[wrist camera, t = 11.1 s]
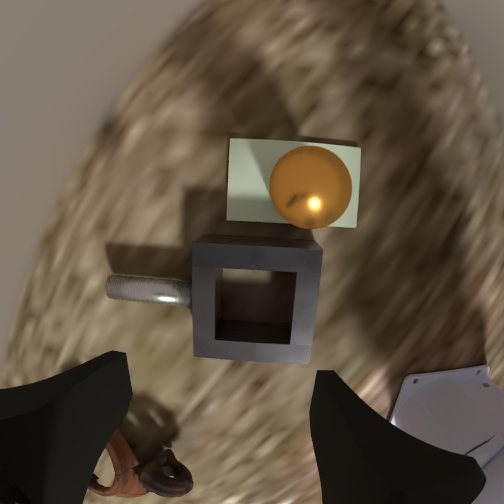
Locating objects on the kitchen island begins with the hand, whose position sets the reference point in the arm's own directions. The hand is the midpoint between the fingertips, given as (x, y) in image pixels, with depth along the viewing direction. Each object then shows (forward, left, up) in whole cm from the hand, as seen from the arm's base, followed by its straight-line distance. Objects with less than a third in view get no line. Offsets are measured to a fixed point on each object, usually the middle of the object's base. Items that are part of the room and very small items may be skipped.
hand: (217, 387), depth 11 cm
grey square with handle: (+2, 0, -10) cm, 10 cm away
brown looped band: (+9, +16, -10) cm, 21 cm away
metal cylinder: (-3, -7, -10) cm, 12 cm away
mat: (-3, -8, -10) cm, 13 cm away
